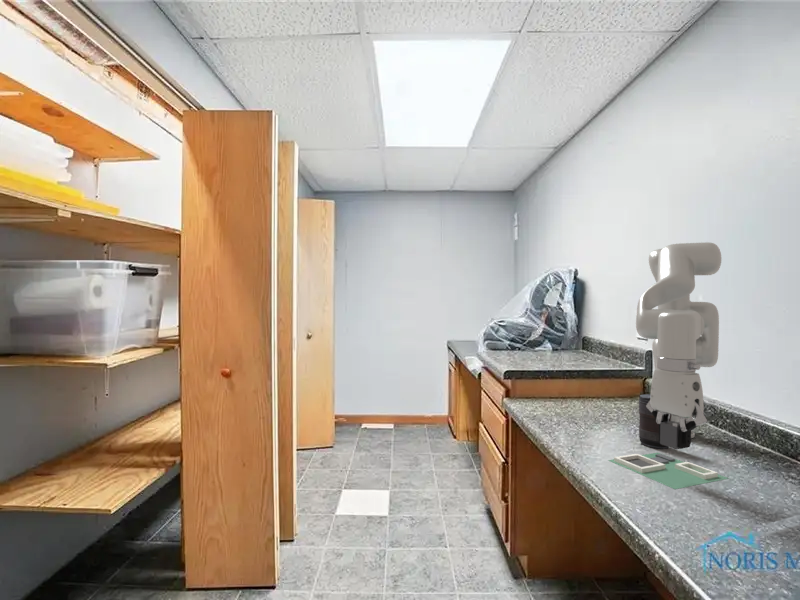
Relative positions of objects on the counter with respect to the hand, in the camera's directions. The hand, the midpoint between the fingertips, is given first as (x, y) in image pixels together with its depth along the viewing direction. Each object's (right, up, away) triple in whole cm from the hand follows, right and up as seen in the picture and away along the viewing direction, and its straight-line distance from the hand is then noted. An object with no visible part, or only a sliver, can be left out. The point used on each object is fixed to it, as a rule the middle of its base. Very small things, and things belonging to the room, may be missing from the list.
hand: (674, 443), depth 101 cm
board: (+1, -9, +6) cm, 11 cm away
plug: (0, 0, 0) cm, 0 cm away
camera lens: (+9, -10, +24) cm, 27 cm away
